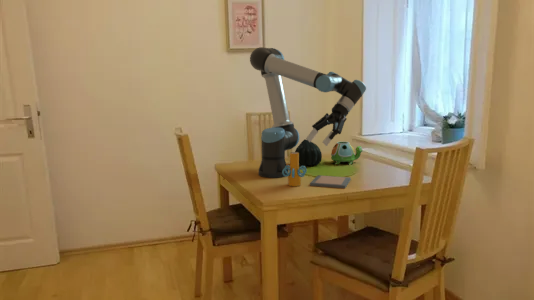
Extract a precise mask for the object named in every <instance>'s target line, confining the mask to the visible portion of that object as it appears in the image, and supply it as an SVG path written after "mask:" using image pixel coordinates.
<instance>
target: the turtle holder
mask: <svg viewBox="0 0 534 300" xmlns="http://www.w3.org/2000/svg"><path fill="white" fill-rule="evenodd" d="M362 152H363V148H362V146H361V145H359V146H356V147H355V148H354V146H352V145H351V143H350V142H349V141H337V142H336V143H335V145H333V147H332V149H331V154H330V155H331V158H330V159H331V160H332V162H335V163H334V164H335V165H336V164H338V165H340V164H341V163H342V162H343V163H344V162H345V163H346V162H348V165H349V164H351V165H353V162H354V161H357V160H359V158H360V157H361V154H362Z"/></svg>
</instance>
